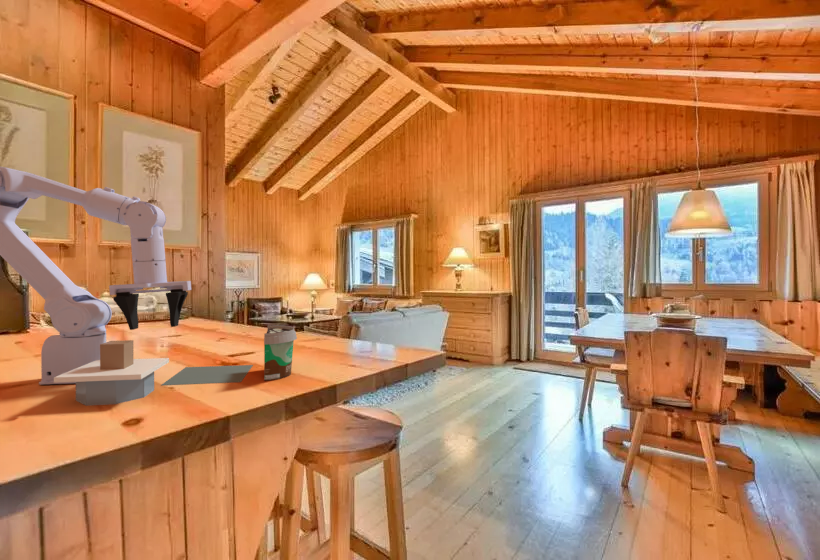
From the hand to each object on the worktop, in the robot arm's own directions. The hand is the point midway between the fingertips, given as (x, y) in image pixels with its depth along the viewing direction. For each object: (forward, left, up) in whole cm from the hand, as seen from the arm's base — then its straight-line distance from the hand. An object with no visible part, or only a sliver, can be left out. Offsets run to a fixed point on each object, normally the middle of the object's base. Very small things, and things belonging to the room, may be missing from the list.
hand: (154, 327), depth 83 cm
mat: (+11, -3, -10) cm, 15 cm away
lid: (-1, -14, -5) cm, 15 cm away
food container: (+25, -5, -10) cm, 28 cm away
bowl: (-1, -15, -10) cm, 18 cm away
